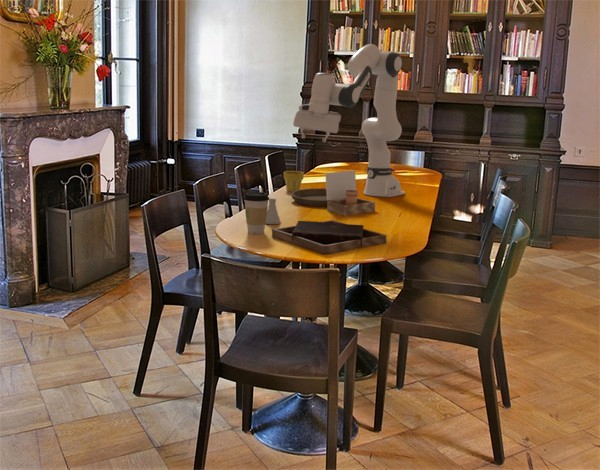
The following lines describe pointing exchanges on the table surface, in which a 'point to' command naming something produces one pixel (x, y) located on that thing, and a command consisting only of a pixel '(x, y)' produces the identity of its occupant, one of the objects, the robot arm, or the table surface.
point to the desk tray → (368, 240)
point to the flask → (272, 213)
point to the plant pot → (293, 180)
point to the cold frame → (350, 207)
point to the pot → (351, 197)
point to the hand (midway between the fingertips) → (313, 140)
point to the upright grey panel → (339, 184)
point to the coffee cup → (256, 211)
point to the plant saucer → (312, 197)
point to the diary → (327, 232)
